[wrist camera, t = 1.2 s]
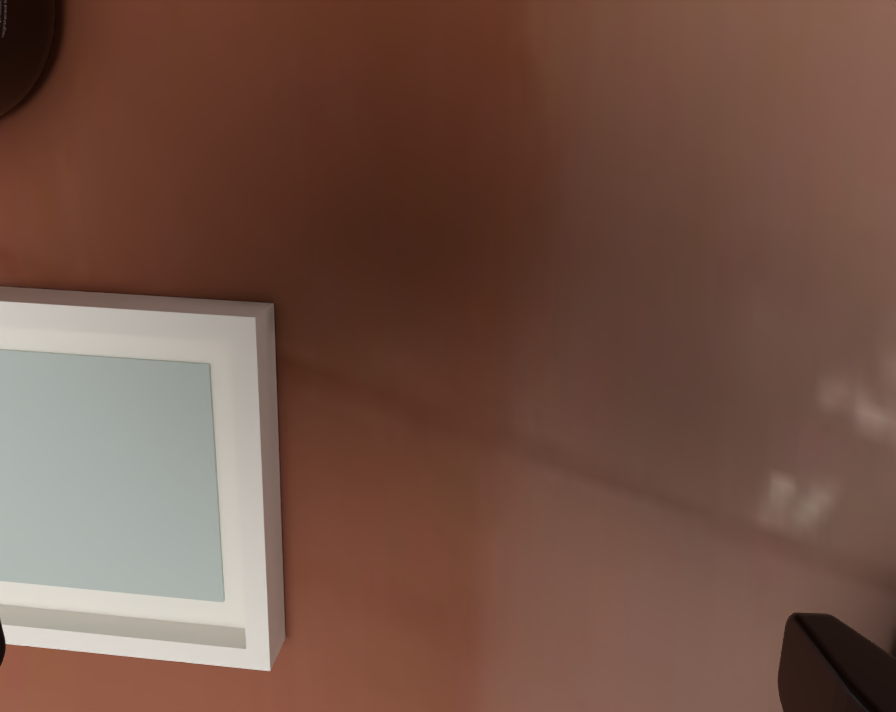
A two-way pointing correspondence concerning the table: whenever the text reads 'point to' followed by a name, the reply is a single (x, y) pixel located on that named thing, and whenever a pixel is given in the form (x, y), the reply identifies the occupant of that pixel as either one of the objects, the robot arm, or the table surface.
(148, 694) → the table surface
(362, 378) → the table surface
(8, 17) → the supplement bottle
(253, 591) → the cream ceramic dish
